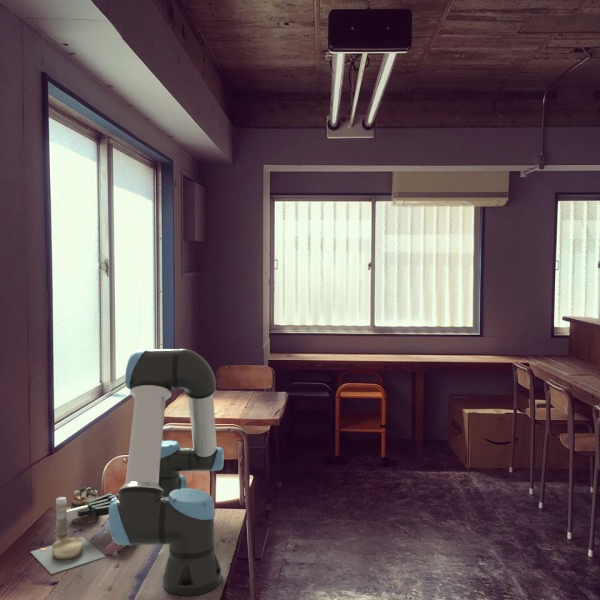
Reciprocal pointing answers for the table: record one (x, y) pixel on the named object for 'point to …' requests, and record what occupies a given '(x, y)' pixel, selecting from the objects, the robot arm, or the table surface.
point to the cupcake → (84, 503)
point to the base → (59, 565)
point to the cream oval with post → (64, 535)
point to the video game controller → (113, 548)
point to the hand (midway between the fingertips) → (65, 515)
